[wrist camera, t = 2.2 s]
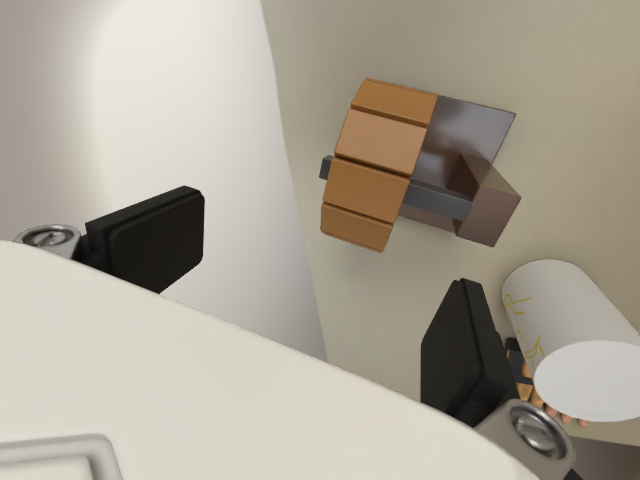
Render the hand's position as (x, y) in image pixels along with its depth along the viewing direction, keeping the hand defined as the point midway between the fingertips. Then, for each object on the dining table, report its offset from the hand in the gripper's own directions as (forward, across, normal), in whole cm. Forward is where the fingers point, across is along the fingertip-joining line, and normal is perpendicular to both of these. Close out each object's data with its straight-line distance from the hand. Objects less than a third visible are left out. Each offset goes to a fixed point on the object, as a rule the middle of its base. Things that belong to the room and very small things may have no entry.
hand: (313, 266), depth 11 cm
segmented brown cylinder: (+15, 0, 0) cm, 15 cm away
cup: (+24, -21, +10) cm, 33 cm away
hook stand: (+24, -4, 0) cm, 25 cm away
